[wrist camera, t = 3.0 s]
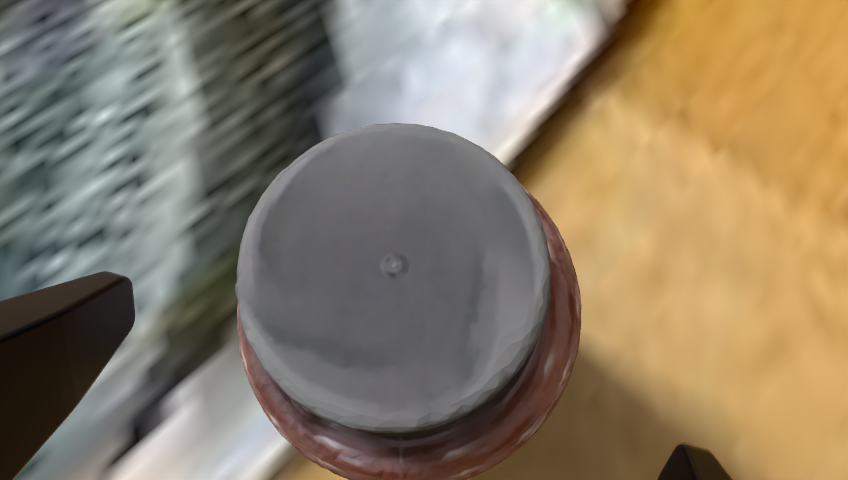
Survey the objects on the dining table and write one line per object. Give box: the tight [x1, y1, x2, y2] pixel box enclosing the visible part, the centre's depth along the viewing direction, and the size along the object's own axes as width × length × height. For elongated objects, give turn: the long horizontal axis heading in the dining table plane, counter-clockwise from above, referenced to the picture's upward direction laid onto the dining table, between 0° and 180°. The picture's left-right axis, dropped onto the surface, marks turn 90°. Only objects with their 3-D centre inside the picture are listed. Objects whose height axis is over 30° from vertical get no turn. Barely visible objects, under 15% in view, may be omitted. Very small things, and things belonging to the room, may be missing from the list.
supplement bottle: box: [235, 123, 581, 480], centre depth 13 cm, size 6×6×11 cm
